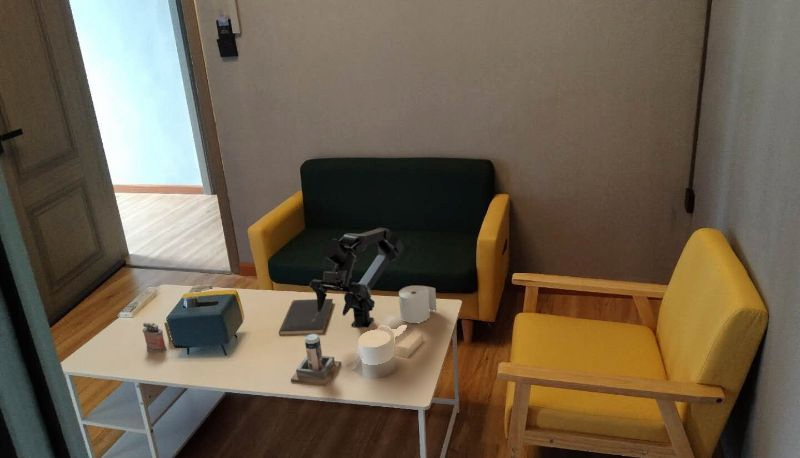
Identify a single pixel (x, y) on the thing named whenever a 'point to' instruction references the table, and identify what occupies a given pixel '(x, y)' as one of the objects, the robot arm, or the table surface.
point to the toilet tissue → (416, 303)
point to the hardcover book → (305, 317)
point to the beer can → (314, 352)
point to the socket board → (316, 372)
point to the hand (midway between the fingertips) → (331, 313)
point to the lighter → (154, 338)
